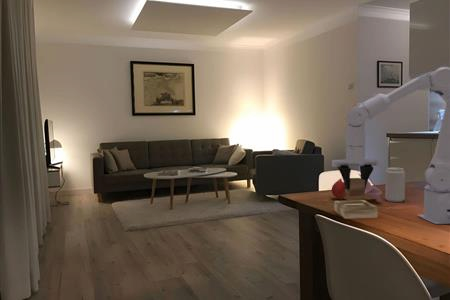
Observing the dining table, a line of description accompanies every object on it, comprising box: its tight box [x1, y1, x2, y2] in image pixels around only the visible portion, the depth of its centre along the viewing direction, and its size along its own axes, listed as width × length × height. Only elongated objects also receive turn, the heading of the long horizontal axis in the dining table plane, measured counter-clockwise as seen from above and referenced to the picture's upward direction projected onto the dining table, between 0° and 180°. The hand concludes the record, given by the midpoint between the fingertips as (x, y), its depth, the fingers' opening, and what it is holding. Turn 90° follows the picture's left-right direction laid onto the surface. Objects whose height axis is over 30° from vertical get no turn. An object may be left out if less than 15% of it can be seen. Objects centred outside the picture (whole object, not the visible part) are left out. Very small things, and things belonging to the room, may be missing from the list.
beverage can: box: [384, 167, 406, 203], centre depth 136 cm, size 6×6×12 cm
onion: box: [331, 178, 347, 201], centre depth 139 cm, size 6×6×8 cm
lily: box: [358, 173, 383, 203], centre depth 135 cm, size 12×12×10 cm
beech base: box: [333, 199, 379, 220], centre depth 118 cm, size 10×10×3 cm
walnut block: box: [345, 177, 366, 197], centre depth 118 cm, size 4×4×5 cm
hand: (355, 188), depth 118 cm, fingers closed on walnut block, 4 cm apart
